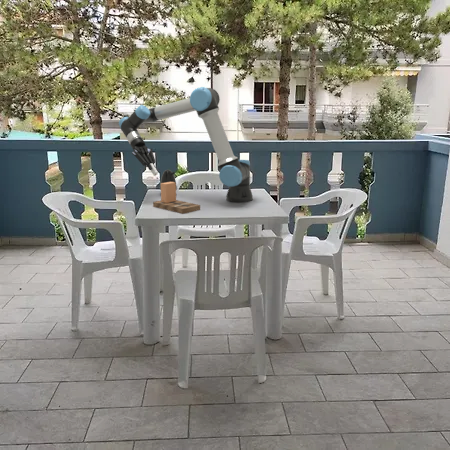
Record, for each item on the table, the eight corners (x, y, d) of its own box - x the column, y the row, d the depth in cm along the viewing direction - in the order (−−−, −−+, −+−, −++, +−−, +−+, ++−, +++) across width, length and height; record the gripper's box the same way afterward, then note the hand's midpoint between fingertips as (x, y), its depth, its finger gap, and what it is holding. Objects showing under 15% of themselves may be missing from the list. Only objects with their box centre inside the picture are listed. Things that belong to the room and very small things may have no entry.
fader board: (153, 206, 239) (153, 201, 238) (170, 203, 247) (170, 198, 247) (182, 213, 223) (182, 208, 222) (200, 209, 231) (200, 204, 231)
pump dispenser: (169, 197, 263) (168, 171, 259) (156, 195, 269) (155, 170, 265) (180, 194, 271) (180, 169, 267) (167, 192, 277) (166, 168, 273)
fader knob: (161, 201, 237) (160, 183, 235) (171, 199, 242) (170, 181, 240) (166, 202, 235) (165, 184, 232) (176, 200, 240) (175, 182, 237)
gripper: (142, 145, 255) (162, 177, 248) (123, 146, 246) (143, 179, 239) (148, 136, 250) (168, 168, 243) (128, 137, 241) (149, 171, 234)
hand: (155, 174), depth 241 cm, fingers closed
